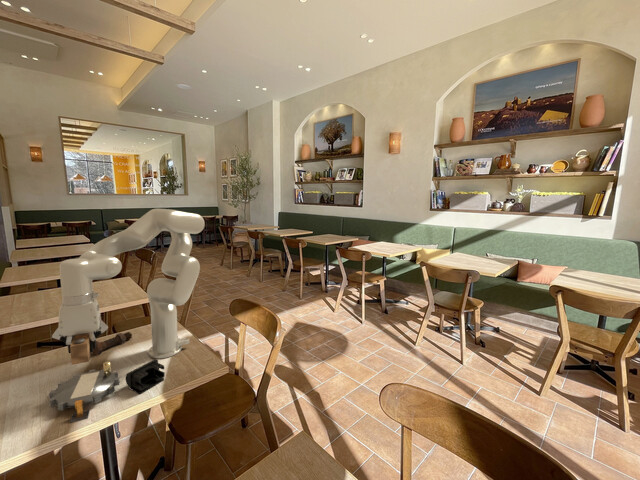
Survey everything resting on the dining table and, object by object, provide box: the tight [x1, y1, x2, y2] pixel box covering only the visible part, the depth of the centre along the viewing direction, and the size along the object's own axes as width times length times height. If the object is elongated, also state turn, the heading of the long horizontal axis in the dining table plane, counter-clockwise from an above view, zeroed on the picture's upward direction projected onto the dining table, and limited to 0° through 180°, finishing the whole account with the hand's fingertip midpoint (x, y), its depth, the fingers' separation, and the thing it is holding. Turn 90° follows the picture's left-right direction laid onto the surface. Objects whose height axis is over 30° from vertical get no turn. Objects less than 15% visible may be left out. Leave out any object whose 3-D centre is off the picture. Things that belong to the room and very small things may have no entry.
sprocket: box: [48, 360, 121, 411], centre depth 97 cm, size 18×18×6 cm
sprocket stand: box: [70, 402, 90, 423], centre depth 93 cm, size 6×16×4 cm, turn 30°
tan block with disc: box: [70, 333, 92, 366], centre depth 95 cm, size 4×12×7 cm, turn 32°
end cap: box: [125, 358, 165, 395], centre depth 104 cm, size 10×7×7 cm
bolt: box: [92, 331, 133, 356], centre depth 128 cm, size 6×5×15 cm
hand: (82, 352), depth 95 cm, fingers closed on tan block with disc, 4 cm apart
